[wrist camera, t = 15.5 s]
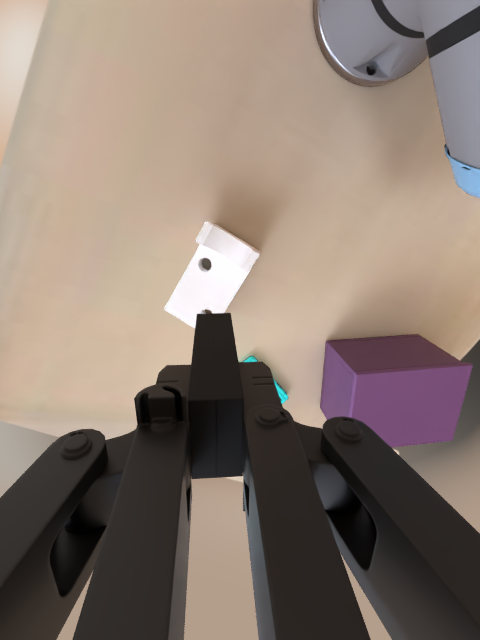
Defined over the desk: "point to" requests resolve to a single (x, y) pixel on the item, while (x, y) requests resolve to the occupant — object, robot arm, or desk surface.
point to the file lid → (410, 402)
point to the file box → (371, 364)
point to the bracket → (212, 274)
